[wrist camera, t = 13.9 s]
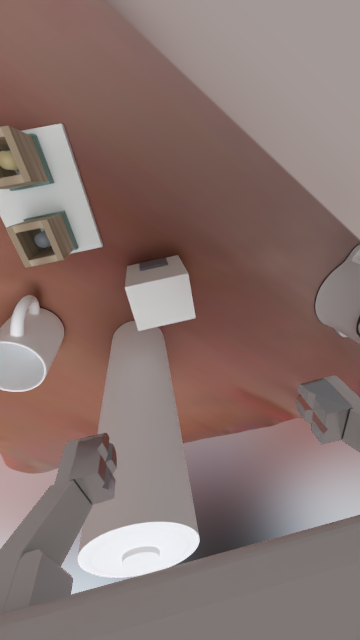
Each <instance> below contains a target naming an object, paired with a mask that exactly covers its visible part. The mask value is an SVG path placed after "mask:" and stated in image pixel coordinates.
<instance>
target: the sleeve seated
mask: <svg viewBox="0 0 360 640" xmlns="http://www.w3.org/2000/svg"><path fill="white" fill-rule="evenodd" d="M23 220H24V222H21V223H18V224H15V225H12V226H9V227H6V228H5V229H6V230H7V232H8V234H9V236H10V238H11V240H12V242H13V244H14V246H15V248H16V250H17V252H18V254H19V256H20V258H21V260H22V262H23V264H24V266H25V268H27V267H32V266H36V265H41V264H46V263H50V262H55V261H60V260H64V259H65V258H66V257H67V256H68V255H69V254H70V253H71V252H72V251H73V250H77V249H78V248H79V247H78V244H77V241H76V239H75V236H74V234H73V231H72V228H71V226H70V223H69V220H68V218H67V215H66V213H65V211H60V212H55V213H50V214H46V215H41V216H36V217H31V218H27V219H23ZM40 228H44V230H45V232H46V235H47V237H48V239H49V242H50V244H51V246H49V247H48V246H47V247H45V248H42V247H39V246H38V245H37V244H36V243H35V240H34V238H35V236H36V235H37V234H39V233H41V232H42V231H41V229H40Z"/></svg>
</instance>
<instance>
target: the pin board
mask: <svg viewBox="0 0 360 640" xmlns="http://www.w3.org/2000/svg"><path fill="white" fill-rule="evenodd" d="M22 132H24V133H26V134H31V133H33V134H35V135H37V137H38V140H39V143H40V145H41V148H42V151H43V153H44V156H45V159H46V161H47V164H48V167H49V169H50V172H51V175H52V177H53V180H54V183H53V184H48V185H42V186H37V187H32V188H27V189H22V190H17V191H10V189H0V216H1V218H2V220H3V222H4V224H5V226H6V227H9V226H12V225H15V224H18V223H21V222H24V220H23V219H27V218H31V217H36V216H41V215H46V214H50V213H55V212H60V211H65V213H66V215H67V218H68V220H69V223H70V226H71V228H72V231H73V234H74V236H75V239H76V241H77V244H78V247H79V248H78V249H77V250H73V251H72V252H71V253H76V252H81V251H85V250H90V249H95V248H99V247H102V246H103V243H102V240H101V237H100V234H99V231H98V228H97V224H96V221H95V218H94V215H93V212H92V209H91V206H90V203H89V200H88V197H87V194H86V191H85V188H84V185H83V182H82V179H81V176H80V173H79V170H78V167H77V164H76V161H75V157H74V154H73V151H72V148H71V145H70V142H69V139H68V136H67V133H66V130H65V127H64V125H63V124H55V125H50V126H45V127H39V128H34V129H29V130H24V131H22ZM0 166H1V167H2V168H4V169H7V170H15V172H16V174H17V175H20V172H19V169H18V167H17V165H16V162H15V160H14V158H13V155H12V153H11V151H0ZM40 229H41V231H42V232H41V233H39V234H37V235H36V236H35V238H34V240H35V243H36V244H37V245H38V246H39V247H42V248H45V247H47V246H48V247H49V246H51V244H50V242H49V239H48V237H47V235H46V232H45V230H44V228H40ZM71 253H70V254H71Z"/></svg>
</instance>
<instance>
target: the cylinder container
mask: <svg viewBox="0 0 360 640" xmlns="http://www.w3.org/2000/svg"><path fill="white" fill-rule="evenodd" d="M102 433H107V434H108V436H109V443H111V444H113V445H114V447H115V450H116V456H117V469H116V470H115V472H114V473H113V476H114V478H115V480H116V483H115V495H114V499H111V500H108V501H104V502H101V503H97V504H94V505H92V509H91V510H90V512H89V514H88V516H87V518H86V520H85V522H84V524H83V529H82V535H81V541H80V547H79V553H78V564H79V566H80V567H81V568H82V569H83V570H85V571H86V572H88V573H91V574H93V575H97V576H102V577H114V578H115V577H133V576H140V575H144V574H148V573H151V572H155V571H159V570H162V569H166V568H168V567H171V566H173V565H175V564H177V563H179V562H181V561H183V560H184V559H186V558H187V557H188V556H190V555H191V554H192V553H193V552H194V551H195V550H196V548H197V547H198V544H199V533H198V528H197V522H196V516H195V511H194V505H193V499H192V494H191V488H190V482H189V477H188V471H187V465H186V459H185V454H184V448H183V442H182V437H181V431H180V425H179V420H178V414H177V408H176V403H175V397H174V391H173V386H172V380H171V374H170V369H169V363H168V357H167V352H166V346H165V340H164V336H163V333H162V331H161V330H160V329H159V328H158V327H155V328H150V329H146V330H142V331H138V329H137V325H136V322H135V321H130V322H127V323H125V324H123V325H122V326H120V327H119V328H118V329H117V330H116V332H115V333H114V335H113V339H112V345H111V351H110V357H109V364H108V370H107V376H106V383H105V389H104V395H103V402H102V408H101V414H100V420H99V427H98V433H97V435H98V434H102Z"/></svg>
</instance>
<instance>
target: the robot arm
mask: <svg viewBox="0 0 360 640" xmlns="http://www.w3.org/2000/svg"><path fill="white" fill-rule="evenodd" d="M315 310H316V314H317V317H318V319H319V320H320V321H321V322H322V323H323V324H325V325H327V326H329V327H331V328H334V329H335V331H336V332H337V333H338V334H339V335H340V336H342V337H349V338H351V339H352V340H354V341H356V342H358V343H359V344H360V245H358V246H356V247H355V248H354V250H353V251H352V252H351V253H350V255H349V256H348V258H347V259H346V261H345V262H344V263H342V264H341V265H340V266H339V267H338V268H336V269H335V270H334V271H333V272H332V273H331V274H330V275H329V276H328V277H327V279H326V280H325V281H324V283H323V284H322V286H321V288H320V290H319V292H318V295H317V298H316V303H315ZM297 391H298V392H299V393H300V395H299V396H298V397H297V402H296V404H297V408H298V411H299V413H300V415H301V416H302V418H303V419H304V420H305V421H306V422H309V423H310V424H311V431H312V432H313V433H314V435H315V436H316V437H317V439H318V440H319V442H320V443H321V444H325V443H330V442H334V441H339V440H342V441H343V442H345V443H346V444H348V445H349V446H351V447H353V448H354V449H356V450H357V451H359V452H360V398H359V397H358V396H357V395H356V394H355V393H354V392H353V391H352V390H351V389H350V388H349V387H348V386H347V385H346V384H345V383H344V382H343V381H341V380H340V379H339V378H338V377H337V376H335V375H334V376H330V377H326V378H322V379H317V380H313V381H309V382H305V383H302V384H299V385H298V389H297ZM116 469H117V456H116V450H115V447H114V445H113V444H111V443H109V436H108V434H107V433H102V434H98V435H93V436H89V437H84V438H80V439H76V440H71V441H68V442H67V444H66V445H65V448H64V452H63V456H62V459H61V463H60V466H59V470H58V474H57V477H56V481H55V484H54V485H52V486H50V487H49V488H48V490H47V491H46V492H45V493H44V495H43V496H42V497H41V499H40V500H39V501H38V502H37V504H36V505H35V506H34V507H33V509H32V510H31V511H30V512H29V514H28V515H27V516H26V518H25V519H24V520H23V521H22V523H21V524H20V525H19V526H18V528H17V529H16V530H15V531H14V533H13V534H12V535H11V536H10V538H9V539H8V540H7V541H6V543H5V544H4V545H3V547H2V548H1V549H0V640H360V515H358V516H354V517H350V518H347V519H343V520H340V521H336V522H332V523H329V524H325V525H321V526H318V527H314V528H311V529H307V530H303V531H300V532H296V533H292V534H289V535H285V536H282V537H278V538H274V539H271V540H267V541H264V542H260V543H256V544H253V545H249V546H245V547H242V548H238V549H235V550H231V551H227V552H224V553H220V554H217V555H213V556H209V557H206V558H202V559H198V560H195V561H191V562H188V563H184V564H180V565H177V566H173V567H169V568H166V569H162V570H159V571H155V572H151V573H148V574H144V575H141V576H137V577H134V578H130V579H126V580H123V581H119V582H115V583H112V584H108V585H105V586H101V587H98V588H94V589H90V590H86V591H83V592H79V593H75V594H72V595H71V590H72V583H73V578H72V577H71V575H70V574H69V573H67V572H66V571H65V570H64V569H63V568H61V565H62V563H63V561H64V559H65V558H66V555H67V554H68V552H69V550H70V548H71V546H72V544H73V542H74V541H75V539H76V537H77V535H78V533H79V531H80V529H81V527H82V525H83V524H84V522H85V520H86V518H87V516H88V514H89V512H90V510H91V509H92V505H94V504H97V503H101V502H104V501H108V500H111V499H114V495H115V483H116V480H115V478H114V476H113V473H114V472H115V470H116Z"/></svg>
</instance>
